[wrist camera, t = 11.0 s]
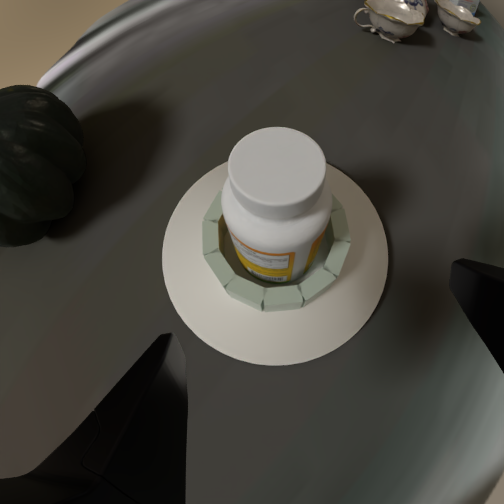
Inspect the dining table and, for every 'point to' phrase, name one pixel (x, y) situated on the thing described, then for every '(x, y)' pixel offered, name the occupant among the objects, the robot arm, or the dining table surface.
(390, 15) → the chinaware
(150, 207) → the dining table surface
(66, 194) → the squash
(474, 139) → the dining table surface
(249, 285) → the carrier socket
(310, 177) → the supplement bottle
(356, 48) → the dining table surface
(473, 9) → the medicine box
